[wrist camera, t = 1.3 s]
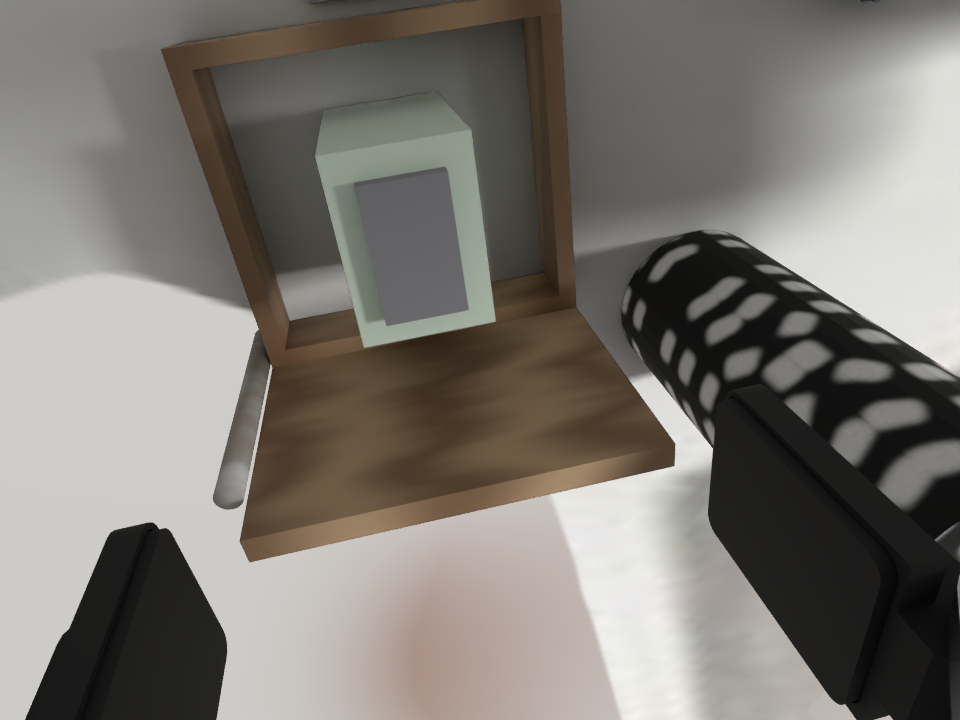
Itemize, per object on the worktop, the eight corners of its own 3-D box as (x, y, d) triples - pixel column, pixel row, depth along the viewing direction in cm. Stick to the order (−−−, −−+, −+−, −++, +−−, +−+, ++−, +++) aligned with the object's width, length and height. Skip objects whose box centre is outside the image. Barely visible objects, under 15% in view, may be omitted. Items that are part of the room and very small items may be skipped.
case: (539, -12, 27) (695, -11, 15) (559, 300, 34) (674, 465, 22) (151, 47, 25) (-22, 100, 13) (262, 359, 33) (215, 570, 21)
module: (436, 91, 28) (474, 133, 20) (459, 241, 32) (499, 328, 23) (323, 109, 28) (314, 161, 19) (359, 259, 31) (364, 355, 23)
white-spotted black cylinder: (782, 234, 35) (1200, 470, 18) (733, 366, 39) (1037, 661, 22) (642, 224, 33) (959, 476, 16) (606, 363, 37) (829, 683, 20)
